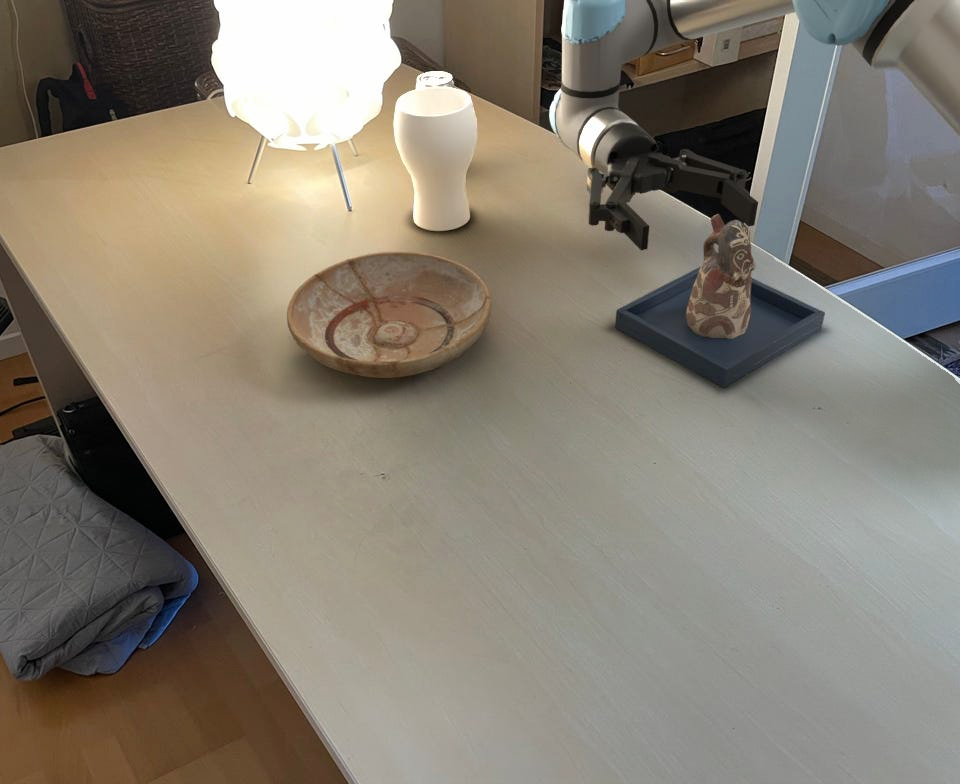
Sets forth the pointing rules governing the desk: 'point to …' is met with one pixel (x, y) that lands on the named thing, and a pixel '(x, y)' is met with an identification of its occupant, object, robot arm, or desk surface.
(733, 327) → the figurine
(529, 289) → the desk surface
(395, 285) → the ceramic bowl
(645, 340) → the tray
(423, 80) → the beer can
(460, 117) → the cup
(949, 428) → the desk surface
